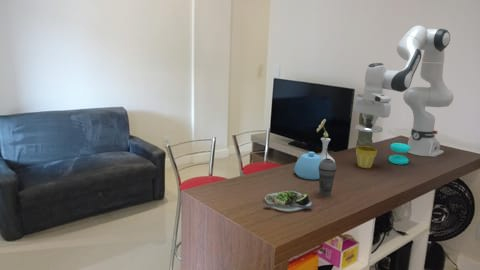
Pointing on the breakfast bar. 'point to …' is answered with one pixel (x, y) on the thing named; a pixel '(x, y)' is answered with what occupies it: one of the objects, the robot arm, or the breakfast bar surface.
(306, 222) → the breakfast bar surface
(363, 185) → the breakfast bar surface
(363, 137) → the olive green textured cylinder
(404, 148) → the donuts
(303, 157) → the sugar bowl
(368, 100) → the robot arm
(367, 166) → the plant pot
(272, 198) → the salad plate
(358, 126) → the steel lid
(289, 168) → the breakfast bar surface
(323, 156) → the flower in vase
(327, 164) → the beverage cup
